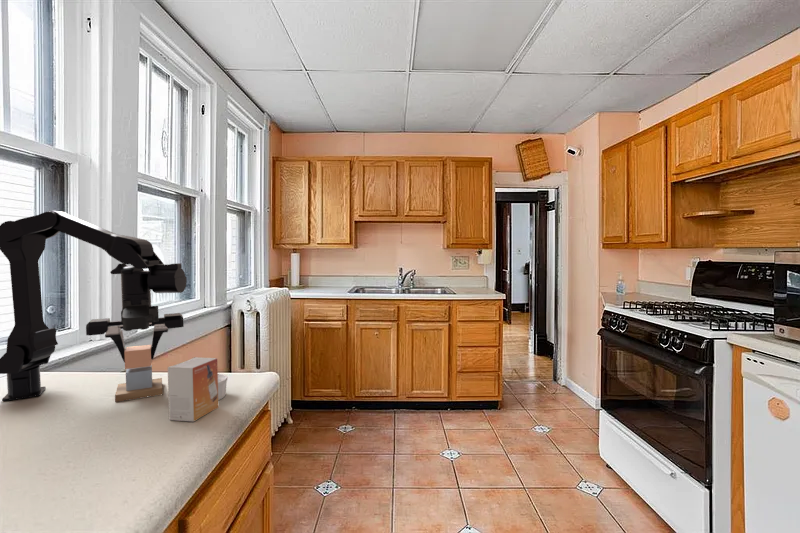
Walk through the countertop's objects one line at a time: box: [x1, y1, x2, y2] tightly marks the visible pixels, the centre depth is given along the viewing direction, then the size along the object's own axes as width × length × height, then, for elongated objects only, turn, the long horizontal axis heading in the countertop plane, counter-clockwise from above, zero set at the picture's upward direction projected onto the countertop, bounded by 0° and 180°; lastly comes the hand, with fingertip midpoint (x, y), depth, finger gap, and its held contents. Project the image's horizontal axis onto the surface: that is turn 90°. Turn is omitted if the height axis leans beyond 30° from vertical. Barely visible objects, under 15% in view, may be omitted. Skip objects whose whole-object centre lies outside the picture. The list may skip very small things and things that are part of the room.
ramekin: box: [218, 373, 228, 401], centre depth 95 cm, size 9×9×4 cm
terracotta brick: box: [124, 344, 153, 370], centre depth 98 cm, size 5×5×4 cm
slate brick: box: [125, 364, 153, 391], centre depth 99 cm, size 5×5×4 cm
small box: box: [167, 356, 219, 422], centre depth 85 cm, size 8×6×10 cm
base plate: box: [114, 377, 164, 403], centre depth 99 cm, size 9×9×2 cm
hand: (138, 360), depth 99 cm, fingers closed on terracotta brick, 5 cm apart
